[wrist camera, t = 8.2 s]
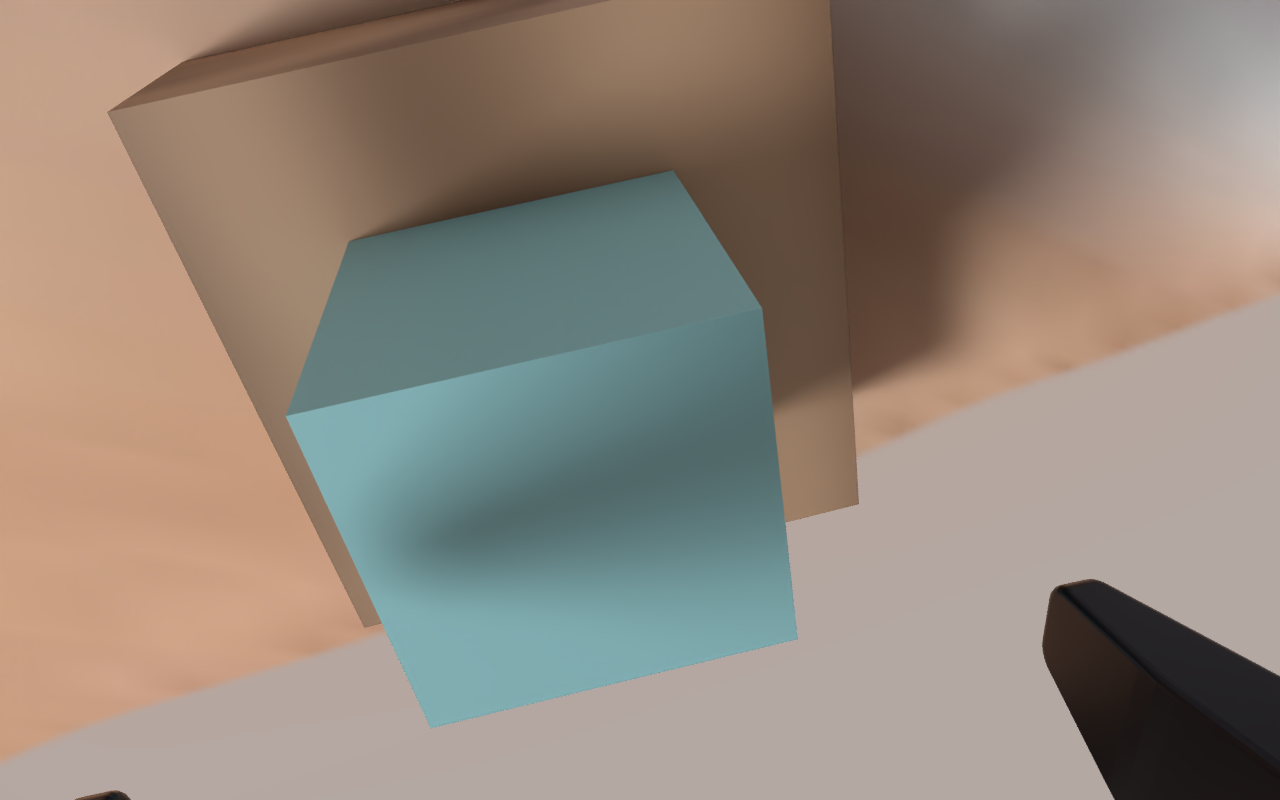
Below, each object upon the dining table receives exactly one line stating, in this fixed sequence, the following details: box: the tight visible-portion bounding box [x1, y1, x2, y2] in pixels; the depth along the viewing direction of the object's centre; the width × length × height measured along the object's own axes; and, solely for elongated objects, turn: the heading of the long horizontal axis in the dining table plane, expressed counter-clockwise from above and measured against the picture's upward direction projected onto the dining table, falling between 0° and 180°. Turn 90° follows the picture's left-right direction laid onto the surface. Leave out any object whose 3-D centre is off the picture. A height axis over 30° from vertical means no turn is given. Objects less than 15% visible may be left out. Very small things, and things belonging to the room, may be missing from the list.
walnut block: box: [108, 0, 859, 628], centre depth 16 cm, size 10×10×4 cm
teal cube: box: [286, 170, 798, 728], centre depth 12 cm, size 5×5×5 cm
